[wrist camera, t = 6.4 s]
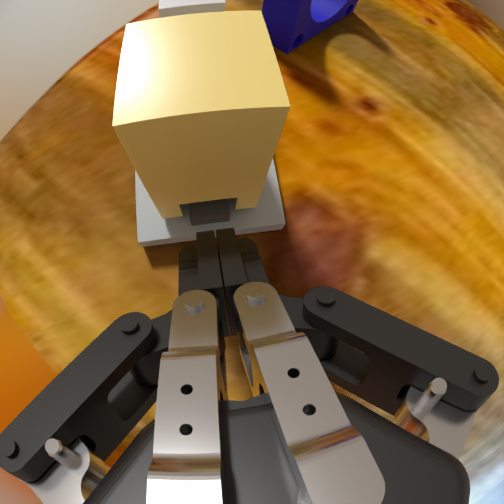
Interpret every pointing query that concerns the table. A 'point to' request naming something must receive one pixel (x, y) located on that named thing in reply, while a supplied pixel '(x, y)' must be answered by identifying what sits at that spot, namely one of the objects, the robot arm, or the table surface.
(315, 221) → the table surface
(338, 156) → the table surface
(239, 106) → the pale yellow block
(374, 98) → the table surface
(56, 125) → the table surface
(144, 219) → the comb board
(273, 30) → the blue stepped block
